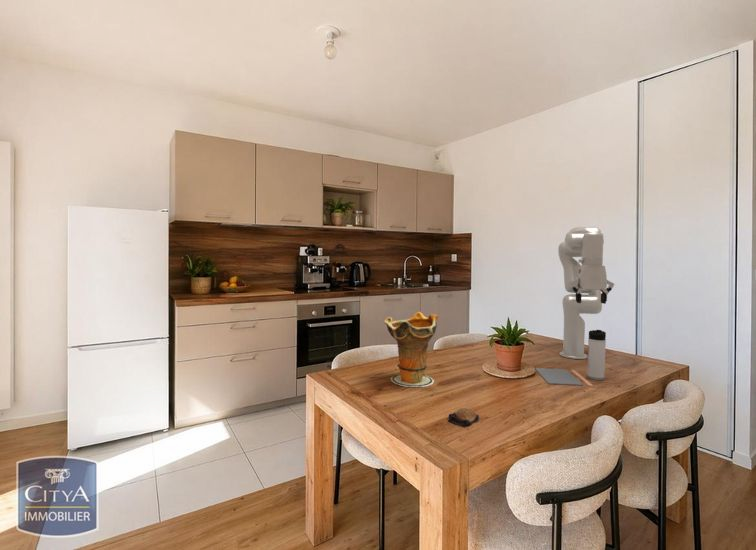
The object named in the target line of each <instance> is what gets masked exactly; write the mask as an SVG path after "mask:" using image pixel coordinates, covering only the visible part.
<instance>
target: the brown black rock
mask: <svg viewBox="0 0 756 550" xmlns="http://www.w3.org/2000/svg"><path fill="white" fill-rule="evenodd" d="M481 417H482V416H481V415H479V414H477V413H475V411H474V410H472V409H470V408H467V407H462V408H459V409H457V411H455V412H453V413H449V414H448V419H447V422H448V423H450V424H453V425H456V426H457V427H461V428H469V427H471V426H472V425H474V424H475V423H477V422H478V421H479V420H480V418H481Z"/></svg>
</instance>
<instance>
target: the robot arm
mask: <svg viewBox="0 0 756 550" xmlns="http://www.w3.org/2000/svg"><path fill="white" fill-rule="evenodd" d="M564 237H565V238H564V241H562V242H560V243H559V245H558V249H557V250H558V252H557V253H558V256H559V257H558V258H559V261H560V263H561V265H562V268H563V281H564V288H565V291H566V292H567V293H569V294H566V295H565V296H564V297H563V298H562V310H563V341H562V343H563V345H562V346H563V347H562V351H560V352H559V356H561V357H563V358H567V359H573V360H585V359H588V354H586V353H585V335H586V334H585V333H586V332H585V331H586V324H585V323H586V322H585V320H584V319H583V317H582V316H581V315H582V314H585V315H586V314H587V315H598V314H600V313H601V312H602V309H603V304H606V303H607V300H608V294H609V293H610V292H611V291H612V289H613V288H614V286H615V283H614V282H612V281H610V280H608V278H607V277H608V276H607V269H606V265H603V261H604V258H603V256H604V234H603V233H602V231H601V229H600V228H599V227H596V226H577V227H573V228H571V229H570V230H569V231H568V232H567V233H566V234H565V236H564ZM575 258H579V259H578V261H577V260H576V259H575ZM607 285H608V286H607ZM580 314H581V315H580Z"/></svg>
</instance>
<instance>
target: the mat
mask: <svg viewBox="0 0 756 550" xmlns="http://www.w3.org/2000/svg"><path fill="white" fill-rule="evenodd" d="M534 370H535V371H536V372H537V373H538V374H539V375H540V376H541V377H542V379H543V380H544V381H545V382H546V384H548V385H558V386H559V385H560V386H576V387H577V386H579V387H581V386H582V387H583V386H584V384H583V383H582V382H581V381H580V380H578V378H576V377H575V376H574V375H573V374H572V373H570V371H568V370H567V369H561V368H542V367H541V368H538V367H535V369H534Z"/></svg>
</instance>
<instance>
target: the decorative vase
mask: <svg viewBox="0 0 756 550" xmlns="http://www.w3.org/2000/svg"><path fill="white" fill-rule="evenodd" d="M438 317H439V315H438V314H429V315H428V317H426V316H425V315H424V313H422V312H421V311H417V312H415V313H414V314H413V316H412V317H411V318H407V319H400V320H393V317H391V316H387V317H386V318H385V319H384V321H383V323H384V324H385V325H386V328H387V331H388V333H389V335H390V336H391V337H392V338H393V339H394V340H395V341H396V343H397V349H398V350H397V354H398V362H399V363H398V364H397V367H398V368H399V374H396V375H393V376H391V377H390V378H389V379H390V380H391V382H392V383H393V384H395V385H399V386H401V387H405V388H408V387H409V388H421V387H428V386H431V385H434V382H435V380H434V379H433V378H432V377H431V376H428V375H426V374H425V373H426V369H427V368H428V367H427V366H428V365H427V358H428V347H429V342H430V340H431V339H432V338H433V337H434V336H436V335H435V334H436V331H437V327H438V326H437V325H438V324H437V319H438ZM397 367H395V371H396V370H397Z"/></svg>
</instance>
